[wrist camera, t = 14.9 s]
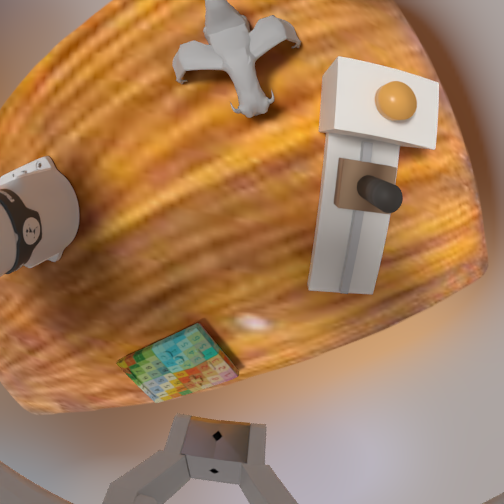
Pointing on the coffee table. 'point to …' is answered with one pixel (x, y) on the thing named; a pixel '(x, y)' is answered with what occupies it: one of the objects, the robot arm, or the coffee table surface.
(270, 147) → the coffee table surface
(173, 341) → the puzzle game
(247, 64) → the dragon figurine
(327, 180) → the rail base
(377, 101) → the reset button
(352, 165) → the carriage
